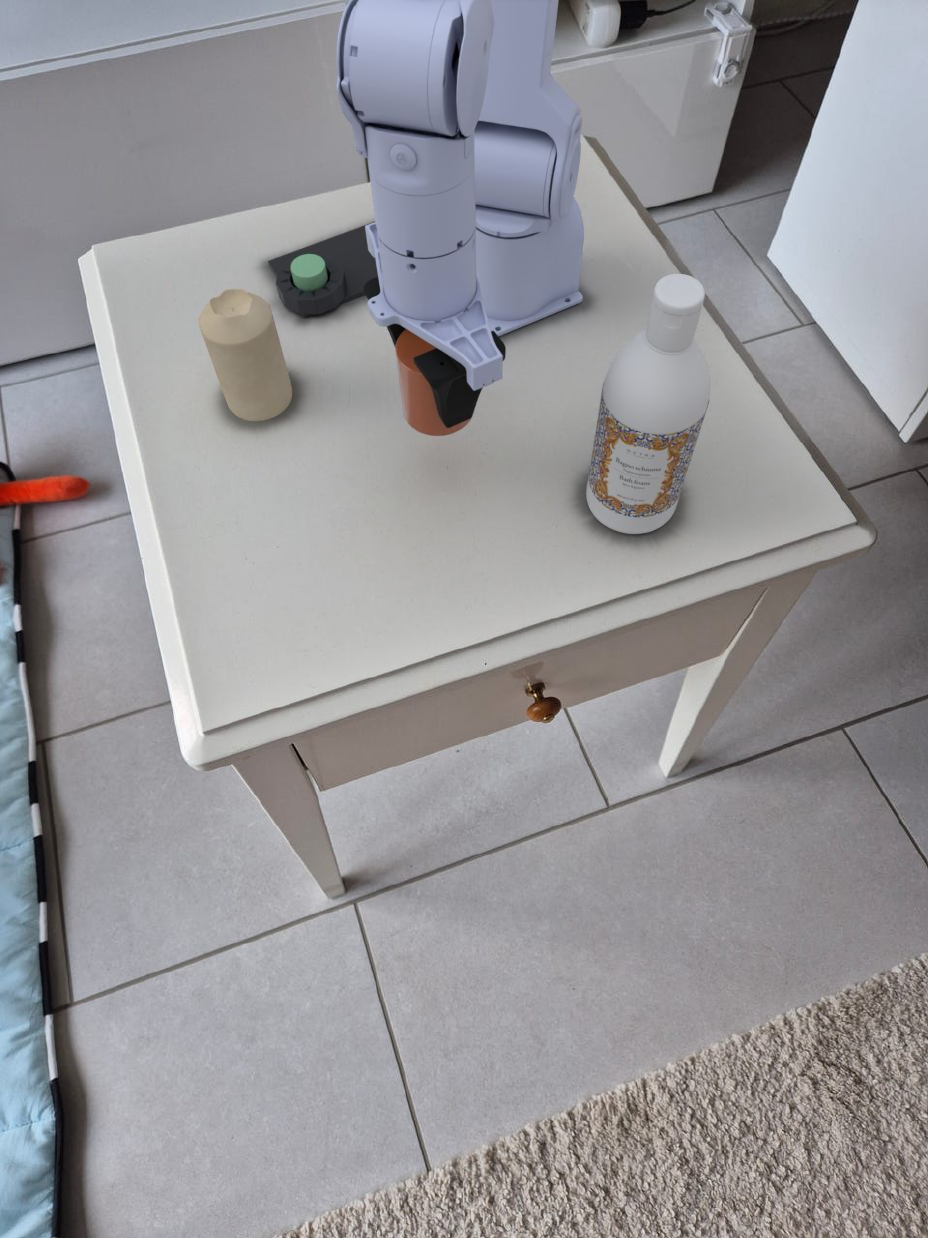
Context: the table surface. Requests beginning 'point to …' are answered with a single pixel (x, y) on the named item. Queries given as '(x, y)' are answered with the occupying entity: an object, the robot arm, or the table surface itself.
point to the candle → (246, 354)
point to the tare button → (309, 272)
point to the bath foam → (651, 414)
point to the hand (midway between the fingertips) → (437, 392)
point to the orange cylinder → (418, 388)
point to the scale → (328, 273)
